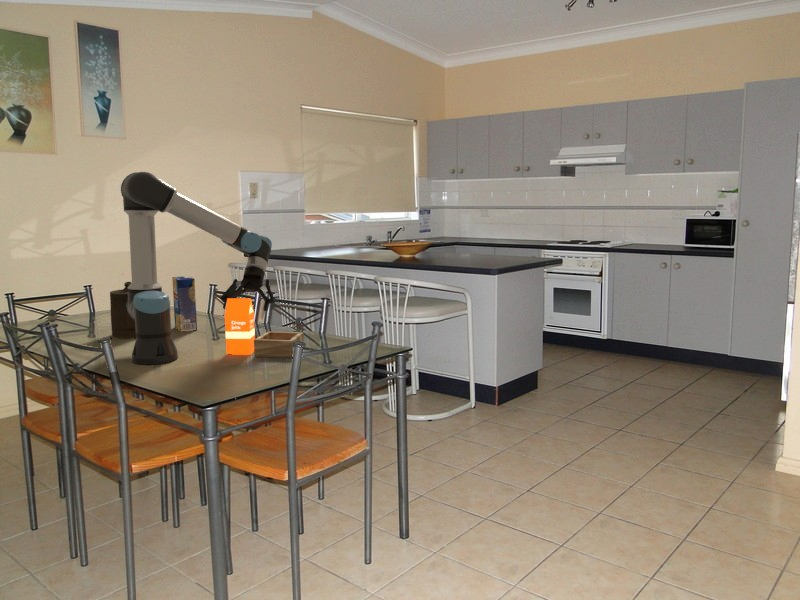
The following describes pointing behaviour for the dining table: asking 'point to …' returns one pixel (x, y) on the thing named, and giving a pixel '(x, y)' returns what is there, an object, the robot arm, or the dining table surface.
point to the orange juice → (239, 326)
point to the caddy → (276, 344)
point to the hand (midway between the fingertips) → (243, 317)
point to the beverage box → (184, 303)
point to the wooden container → (121, 314)
